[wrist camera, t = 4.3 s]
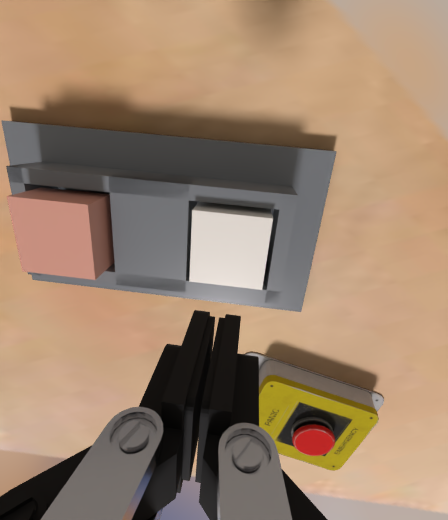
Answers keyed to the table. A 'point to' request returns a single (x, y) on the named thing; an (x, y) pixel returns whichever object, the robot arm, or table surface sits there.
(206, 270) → the cream key
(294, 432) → the emergency button
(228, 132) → the table surface
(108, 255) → the terracotta key
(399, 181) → the table surface
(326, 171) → the key panel
